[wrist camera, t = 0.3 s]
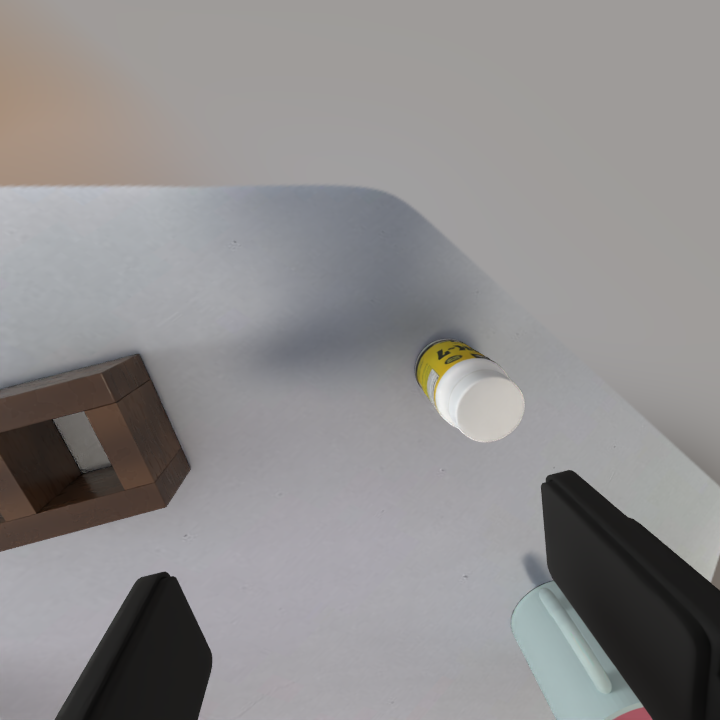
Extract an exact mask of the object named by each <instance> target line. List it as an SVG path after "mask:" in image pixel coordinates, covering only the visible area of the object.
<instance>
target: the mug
mask: <svg viewBox="0 0 720 720" xmlns="http://www.w3.org/2000/svg"><path fill="white" fill-rule="evenodd" d="M511 629H512V632H513V635H514V637H515V639H516V641H517V643H518V645H519V647H520V649H521V651H522V653H523V655H524V657H525V659H526V661H527V663H528V665H529V667H530V669H531V671H532V673H533V675H534V676H535V678H536V680H537V682H538V684H539V686H540V688H541V690H542V692H543V694H544V696H545V698H546V700H547V702H548V704H549V706H550V708H551V710H552V712H553V714H554V716H555V718H556V720H653V719H652V718H651V716H650V715H649V714H648V712H647V711H646V709H645V708H644V707H643V705H642V704H641V702H640V701H639V700H638V698H637V697H636V695H635V694H634V693H633V691H632V690H631V688H630V687H629V685H628V684H627V683H626V681H625V680H624V678H623V677H622V676H621V674H620V673H619V671H618V670H617V669H616V667H615V666H614V664H613V663H612V662H611V660H610V659H609V657H608V656H607V655H606V653H605V652H604V650H603V649H602V648H601V646H600V645H599V643H598V642H597V641H596V639H595V638H594V636H593V635H592V634H591V632H590V631H589V629H588V628H587V626H586V625H585V624H584V622H583V621H582V619H581V618H580V617H579V615H578V614H577V612H576V611H575V610H574V608H573V607H572V605H571V604H570V603H569V601H568V600H567V598H566V597H565V596H564V594H563V593H562V591H561V590H560V589H559V587H558V586H557V584H556V583H555V581H551V582H548V583H545V584H543V585H541V586H539V587H537V588H535V589H534V590H532V591H531V592H529V593H528V594H527V595H526V596H525V597H524V598H523V599H522V600H521V601H520V602H519V603H518V605H517V606H516V608H515V610H514V612H513V615H512V619H511Z"/></svg>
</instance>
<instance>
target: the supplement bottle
mask: <svg viewBox="0 0 720 720" xmlns="http://www.w3.org/2000/svg"><path fill="white" fill-rule="evenodd" d="M415 376H416V379H417V382H418V384H419V385H420V387H421V388H422V390H423V391H424V393H425V394H426V395H427V397H428V398H429V399H430V401H431V402H432V404H433V405H434V406H435V408H436V409H437V411H438V412H439V413H440V415H441V416H442V418H444V419H445V420H446V421H447V422H448V423H449V424H451V425H452V426H454V427H456V428H459V429H460V431H461V432H462V433H463V434H464V435H466V436H467V437H468V438H470V439H472V440H475V441H479V442H493V441H497V440H499V439H502V438H504V437H505V436H507V435H508V434H510V433H511V432H512V431H513V430H514V429H515V428H516V427H517V426H518V424H519V423H520V421H521V419H522V416H523V413H524V408H525V403H524V397H523V394H522V392H521V390H520V389H519V387H518V386H517V385H516V384H515V383H514V382H512V381H511V380H510V379H509V377H508V375H507V373H506V372H505V371H504V370H503V369H502V368H501V367H500V366H499V365H498V364H496V363H495V362H494V361H492V360H490V359H489V358H487V357H485V356H484V355H482V354H481V353H479V352H477V351H476V350H474V349H472V348H471V347H469V346H467V345H466V344H464V343H463V342H460V341H458V340H455V339H441V340H437V341H435V342H432V343H430V344H429V345H428V346H426V347H425V348H424V349H423V350H422V352H421V353H420V354H419V356H418V358H417V361H416V365H415Z"/></svg>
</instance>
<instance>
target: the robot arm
mask: <svg viewBox="0 0 720 720" xmlns="http://www.w3.org/2000/svg"><path fill="white" fill-rule="evenodd" d="M541 493H542V505H543V518H544V530H545V542H546V554H547V565H548V569H549V572H550V574H551V576H552V578H553V580H554V581H555V583H556V584H557V586H558V587H559V589H560V590H561V591H562V593H563V594H564V596H565V597H566V598H567V600H568V601H569V603H570V604H571V605H572V607H573V608H574V610H575V611H576V612H577V614H578V615H579V617H580V618H581V619H582V621H583V622H584V624H585V625H586V626H587V628H588V629H589V631H590V632H591V634H592V635H593V636H594V638H595V639H596V641H597V642H598V643H599V645H600V646H601V648H602V649H603V650H604V652H605V653H606V655H607V656H608V657H609V659H610V660H611V662H612V663H613V664H614V666H615V667H616V669H617V670H618V671H619V673H620V674H621V676H622V677H623V678H624V680H625V681H626V683H627V684H628V685H629V687H630V688H631V690H632V691H633V693H634V694H635V695H636V697H637V698H638V700H639V701H640V702H641V704H642V705H643V707H644V708H645V709H646V711H647V712H648V714H649V715H650V716H651V718H652V719H653V720H720V590H718V589H717V588H716V587H715V586H714V585H712V584H711V583H710V582H709V581H708V580H707V579H705V578H704V577H703V576H702V575H701V574H699V573H698V572H697V571H696V570H695V569H693V568H692V567H691V566H690V565H689V564H687V563H686V562H685V561H684V560H683V559H682V558H680V557H679V556H678V555H677V554H676V553H674V552H673V551H672V550H671V549H670V548H668V547H667V546H666V545H665V544H664V543H662V542H661V541H660V540H659V539H658V538H657V537H655V536H654V535H653V534H652V533H651V532H649V531H648V530H647V529H646V528H645V527H643V526H642V525H641V524H640V523H638V522H637V521H635V520H634V519H631V518H628V517H627V516H626V515H624V514H623V513H622V512H621V511H620V510H618V509H617V508H616V507H615V506H614V505H613V504H611V503H610V502H609V501H608V500H607V499H606V498H604V497H603V496H602V495H601V494H600V493H599V492H597V491H596V490H595V489H594V488H593V487H592V486H590V485H589V484H588V483H587V482H586V481H584V480H583V479H582V478H581V477H580V476H579V475H577V474H576V473H575V472H573V471H571V470H568V471H564V472H560V473H556V474H552V475H548V476H547V478H546V483H542V485H541ZM211 669H212V653H211V650H210V648H209V646H208V644H207V642H206V640H205V638H204V636H203V633H202V631H201V629H200V627H199V625H198V623H197V621H196V619H195V617H194V614H193V612H192V610H191V608H190V606H189V604H188V602H187V600H186V597H185V595H184V593H183V591H182V589H181V587H180V585H179V583H178V581H177V579H176V577H174V576H172V577H170V575H169V574H168V573H167V572H161V573H157V574H153V575H149V576H145V577H141V578H139V579H138V580H137V581H136V582H135V584H134V585H133V587H132V589H131V591H130V592H129V594H128V596H127V597H126V599H125V601H124V602H123V604H122V606H121V608H120V609H119V611H118V613H117V614H116V616H115V618H114V619H113V621H112V623H111V625H110V626H109V628H108V630H107V631H106V633H105V635H104V636H103V638H102V640H101V642H100V643H99V645H98V647H97V648H96V650H95V652H94V653H93V655H92V657H91V659H90V660H89V662H88V664H87V665H86V667H85V669H84V670H83V672H82V674H81V676H80V677H79V679H78V681H77V682H76V684H75V686H74V687H73V689H72V691H71V693H70V694H69V696H68V698H67V699H66V701H65V703H64V704H63V706H62V708H61V710H60V711H59V713H58V715H57V716H56V718H55V720H198V716H199V713H200V709H201V705H202V702H203V698H204V695H205V691H206V687H207V684H208V680H209V677H210V673H211Z"/></svg>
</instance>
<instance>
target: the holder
mask: <svg viewBox="0 0 720 720" xmlns="http://www.w3.org/2000/svg"><path fill="white" fill-rule="evenodd" d="M82 411H84V412H85V414H86V416H87V418H88V420H89V422H90V424H91V426H92V428H93V430H94V432H95V433H96V435H97V437H98V439H99V441H100V443H101V445H102V447H103V449H104V451H105V453H106V455H107V457H108V459H109V461H110V462H111V464H112V466H111V467H107V468H103V469H100V470H96V471H92V472H88V473H85V474H81V472H80V470H79V468H78V467H77V465H76V463H75V461H74V459H73V458H72V456H71V454H70V452H69V450H68V448H67V447H66V445H65V443H64V441H63V439H62V438H61V436H60V434H59V432H58V430H57V428H56V427H55V425H54V423H53V421H52V419H55V418H59V417H63V416H66V415H70V414H74V413H78V412H82ZM189 471H190V467H189V464H188V462H187V460H186V458H185V455H184V453H183V451H182V449H181V446H180V444H179V442H178V440H177V437H176V435H175V433H174V431H173V428H172V426H171V424H170V422H169V419H168V417H167V415H166V413H165V410H164V408H163V406H162V403H161V401H160V399H159V397H158V394H157V392H156V390H155V388H154V385H153V383H152V381H151V379H150V377H149V375H148V373H147V370H146V368H145V366H144V364H143V361H142V359H141V357H140V355H139V354H135V355H131V356H127V357H124V358H120V359H116V360H112V361H108V362H104V363H100V364H96V365H93V366H89V367H85V368H81V369H77V370H73V371H69V372H65V373H62V374H58V375H54V376H50V377H46V378H42V379H38V380H34V381H31V382H27V383H23V384H19V385H15V386H11V387H7V388H3V389H0V552H1V551H5V550H8V549H12V548H16V547H19V546H23V545H27V544H31V543H34V542H38V541H42V540H46V539H49V538H53V537H57V536H60V535H64V534H68V533H72V532H75V531H79V530H83V529H87V528H90V527H94V526H98V525H101V524H105V523H109V522H113V521H116V520H120V519H124V518H128V517H131V516H135V515H139V514H142V513H146V512H150V511H154V510H157V509H161V508H165V507H167V505H168V504H169V502H170V501H171V499H172V498H173V496H174V494H175V493H176V491H177V490H178V488H179V487H180V485H181V484H182V482H183V480H184V479H185V477H186V476H187V474H188V473H189Z"/></svg>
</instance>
